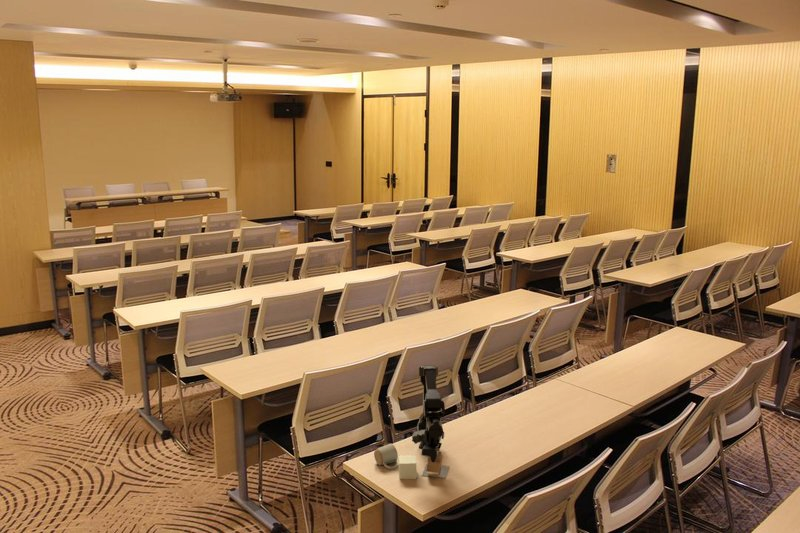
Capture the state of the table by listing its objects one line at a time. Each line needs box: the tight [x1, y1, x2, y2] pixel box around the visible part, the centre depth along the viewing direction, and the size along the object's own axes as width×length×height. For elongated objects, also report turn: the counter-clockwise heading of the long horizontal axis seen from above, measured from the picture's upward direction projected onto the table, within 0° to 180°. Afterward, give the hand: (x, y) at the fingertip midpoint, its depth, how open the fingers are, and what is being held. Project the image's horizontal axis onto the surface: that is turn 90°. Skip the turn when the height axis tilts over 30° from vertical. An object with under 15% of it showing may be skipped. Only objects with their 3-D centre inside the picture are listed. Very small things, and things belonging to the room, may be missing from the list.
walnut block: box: [426, 451, 443, 478], centre depth 282 cm, size 5×5×9 cm
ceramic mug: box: [373, 443, 399, 470], centre depth 292 cm, size 11×8×8 cm
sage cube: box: [398, 454, 417, 480], centre depth 283 cm, size 7×7×7 cm
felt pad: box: [421, 463, 450, 480], centre depth 286 cm, size 10×10×1 cm
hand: (433, 461), depth 279 cm, fingers closed
